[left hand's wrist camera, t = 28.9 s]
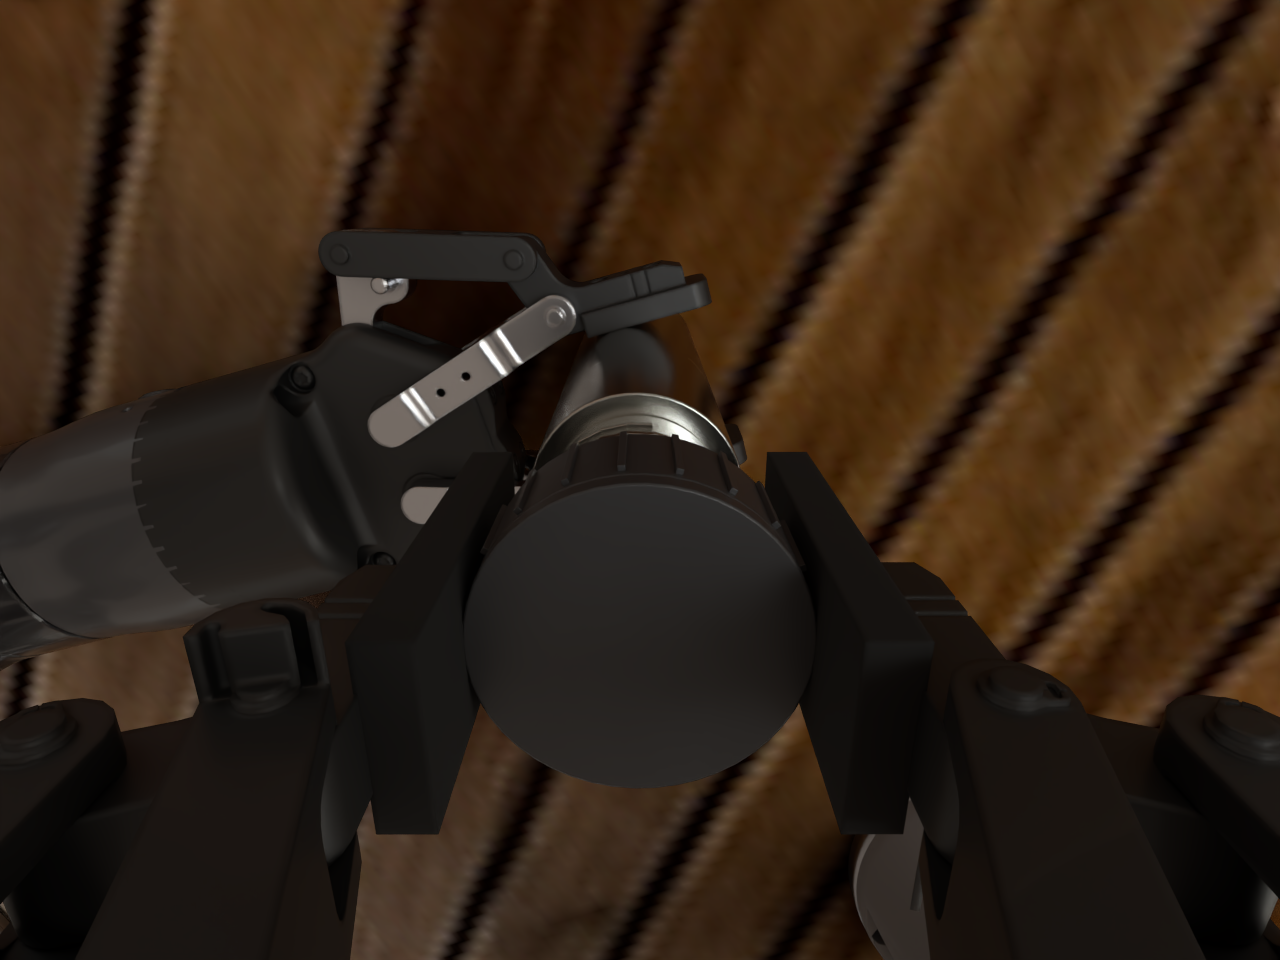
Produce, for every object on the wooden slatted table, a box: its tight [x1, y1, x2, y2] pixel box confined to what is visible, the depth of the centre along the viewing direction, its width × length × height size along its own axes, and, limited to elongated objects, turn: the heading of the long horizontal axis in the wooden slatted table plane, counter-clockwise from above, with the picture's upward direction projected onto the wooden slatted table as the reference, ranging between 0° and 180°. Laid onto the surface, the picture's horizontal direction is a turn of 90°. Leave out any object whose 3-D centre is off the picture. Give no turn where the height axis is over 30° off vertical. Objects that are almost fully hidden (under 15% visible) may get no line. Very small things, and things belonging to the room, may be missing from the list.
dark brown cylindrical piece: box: [533, 313, 740, 471], centre depth 21 cm, size 4×4×17 cm
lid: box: [463, 431, 817, 788], centre depth 11 cm, size 5×5×2 cm
